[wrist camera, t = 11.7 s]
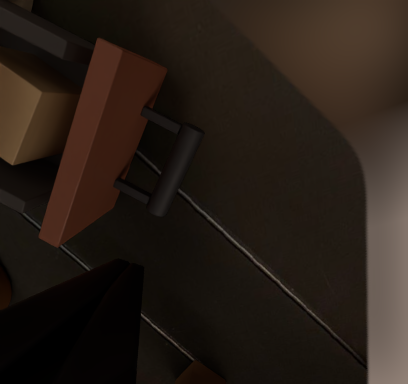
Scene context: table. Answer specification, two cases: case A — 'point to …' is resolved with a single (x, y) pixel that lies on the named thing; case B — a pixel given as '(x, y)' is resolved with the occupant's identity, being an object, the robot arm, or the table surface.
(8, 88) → the block
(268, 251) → the table surface
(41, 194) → the drawer
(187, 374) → the post
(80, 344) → the robot arm
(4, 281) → the mug
